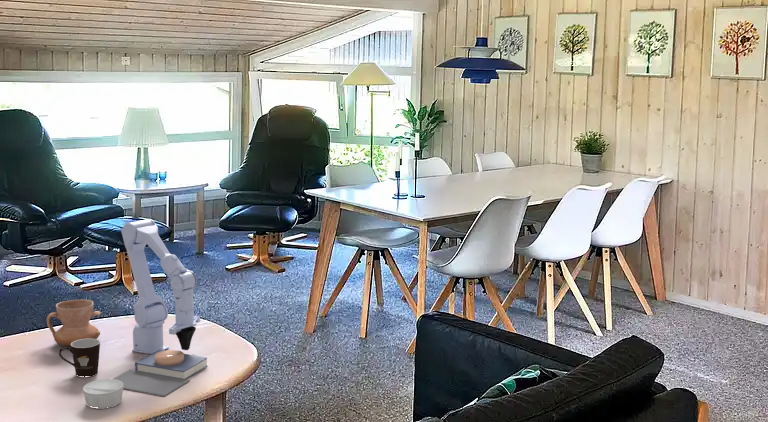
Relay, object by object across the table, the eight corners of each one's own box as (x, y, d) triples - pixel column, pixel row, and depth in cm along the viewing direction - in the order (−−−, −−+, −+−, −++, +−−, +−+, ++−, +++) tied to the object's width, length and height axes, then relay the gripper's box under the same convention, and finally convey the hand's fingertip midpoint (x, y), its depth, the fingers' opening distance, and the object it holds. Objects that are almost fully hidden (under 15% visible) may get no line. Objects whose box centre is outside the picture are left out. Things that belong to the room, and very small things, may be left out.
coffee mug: (107, 371, 272) (105, 340, 270) (89, 380, 264) (88, 349, 262) (76, 366, 275) (75, 336, 273) (58, 375, 267) (56, 344, 265)
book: (135, 371, 271) (134, 362, 271) (160, 358, 283) (159, 349, 283) (183, 380, 265) (183, 371, 264) (207, 366, 277) (207, 357, 276)
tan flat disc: (148, 363, 270) (148, 357, 270) (166, 354, 278) (165, 348, 278) (173, 367, 267) (173, 361, 267) (189, 358, 275) (189, 352, 275)
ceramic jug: (108, 336, 304) (105, 297, 301) (96, 350, 289) (93, 309, 287) (56, 337, 303) (53, 298, 300) (41, 351, 289) (38, 310, 286)
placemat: (102, 385, 260) (102, 383, 260) (130, 370, 272) (129, 369, 272) (164, 396, 252) (164, 395, 252) (189, 381, 264) (189, 380, 264)
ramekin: (85, 413, 240) (84, 395, 239) (81, 398, 250) (80, 381, 249) (126, 407, 245) (126, 390, 244) (121, 393, 255) (121, 376, 254)
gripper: (181, 316, 270) (183, 358, 272) (207, 304, 283) (208, 344, 286) (162, 314, 272) (164, 355, 275) (189, 301, 286) (190, 341, 288)
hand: (185, 349), depth 281 cm, fingers closed
